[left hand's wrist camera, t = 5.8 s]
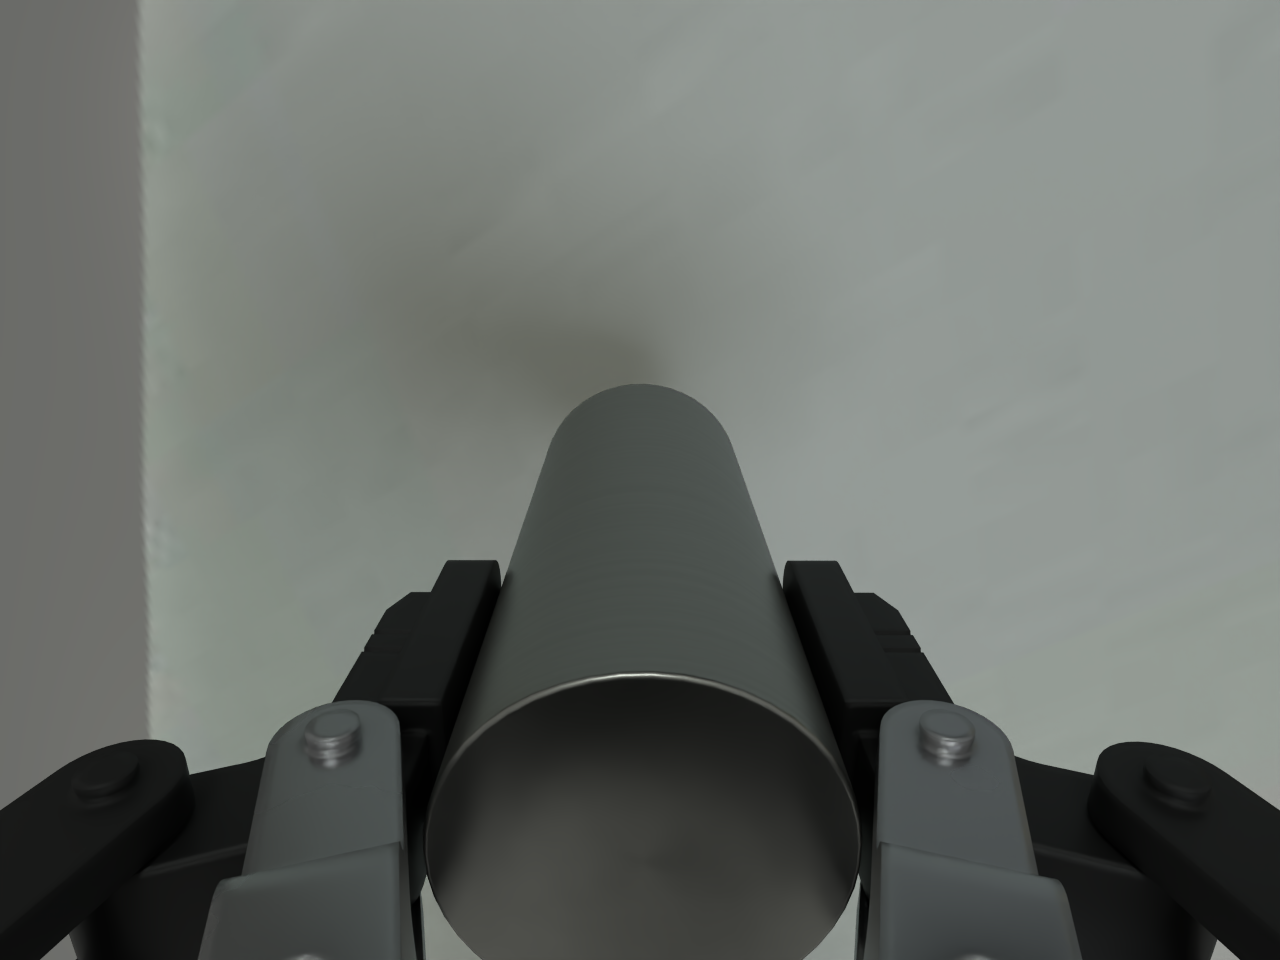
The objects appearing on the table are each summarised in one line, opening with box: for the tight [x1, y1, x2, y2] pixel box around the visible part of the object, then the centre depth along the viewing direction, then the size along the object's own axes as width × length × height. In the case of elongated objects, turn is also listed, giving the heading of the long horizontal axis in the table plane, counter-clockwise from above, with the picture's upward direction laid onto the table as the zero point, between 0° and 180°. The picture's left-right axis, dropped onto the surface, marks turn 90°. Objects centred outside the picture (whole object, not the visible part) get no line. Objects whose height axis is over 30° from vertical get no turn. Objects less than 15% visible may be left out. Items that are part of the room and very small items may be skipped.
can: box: [423, 384, 863, 960], centre depth 13 cm, size 4×4×11 cm
